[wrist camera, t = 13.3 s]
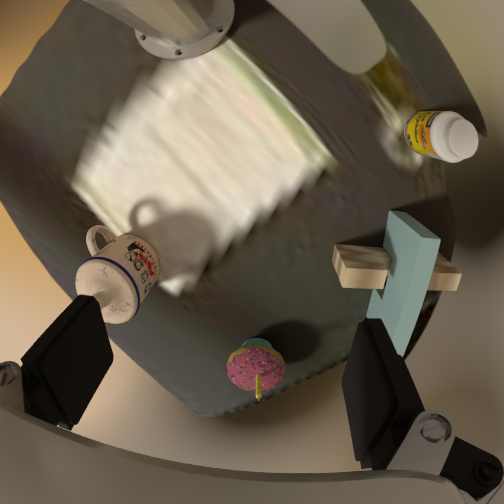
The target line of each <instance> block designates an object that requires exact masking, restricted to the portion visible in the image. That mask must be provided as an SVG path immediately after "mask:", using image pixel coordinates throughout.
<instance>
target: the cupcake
mask: <svg viewBox="0 0 504 504" xmlns="http://www.w3.org/2000/svg"><path fill="white" fill-rule="evenodd" d="M226 370H227V372H228V376H229V378H230V380H231V381H232V382H233V383H234V384H235V385H237V386H239V387H240V388H242V389H245V390H248V391H249V392H251V391H252V392H254V391H255V392H256V398H258V400H260V398H261V392H263V391H265V390H266V391H267V390H270V389H272V388H275V387H276V386H277V385H278V384H279V383H280V382H281V381H283V378H284V373H285V364H284V360H283V358H282V356H281V355H280V353H279V352H277V351H275V350H274V349H273V347H272V345H271V344H270V343H269V342H268V341H267V340H265V339H262V338H251V339H249V340H247V341H246V342H244V344H243V345H242V347H240V348H239V349H237V350H236V351H234V352H233V353H232V354H231V355H230V357H229V360H228V362H227V369H226Z"/></svg>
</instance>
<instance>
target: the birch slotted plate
mask: <svg viewBox="0 0 504 504" xmlns="http://www.w3.org/2000/svg"><path fill="white" fill-rule="evenodd" d="M332 262H333V265H334V267H335V270H336V272H337V275H338V277H339V280H340V282H341V285H342V287H344V288H368V289H383V287H384V283H385V279H386V275H389V271H390V267H391V263H392V257H391V256H390V255H389V254H388V252H387V251H386V250H385V249H384V248H381V247H368V246H354V245H340V244H335V246H334V252H333V259H332ZM461 275H462V274H461V273H460V272H459V271H458V270H457V269H456V268H455V267H454V266H453V265H452V264H451V263H450V262H449V261H448V260H447V259H445V258H444V257H443V256H442V255H441V254H440V253H439V252H438V253H437V257H436V261H435V264H434V268H433V272H432V275H431V278H430V282H429V285H428V288H427V290H441V291H445V290H446V291H456V290H457V287H458V284H459V281H460V278H461Z"/></svg>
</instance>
